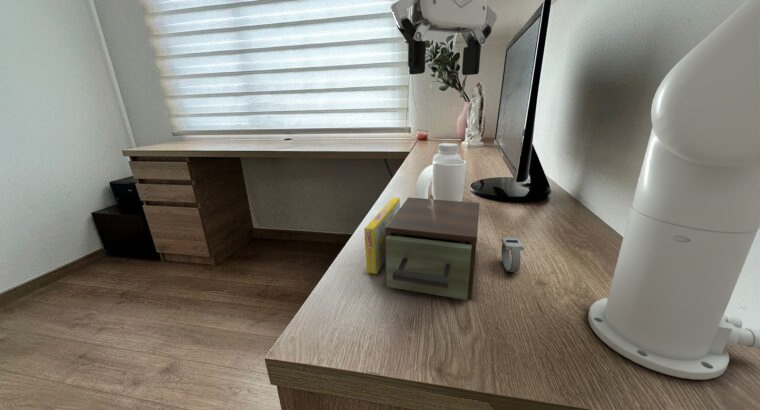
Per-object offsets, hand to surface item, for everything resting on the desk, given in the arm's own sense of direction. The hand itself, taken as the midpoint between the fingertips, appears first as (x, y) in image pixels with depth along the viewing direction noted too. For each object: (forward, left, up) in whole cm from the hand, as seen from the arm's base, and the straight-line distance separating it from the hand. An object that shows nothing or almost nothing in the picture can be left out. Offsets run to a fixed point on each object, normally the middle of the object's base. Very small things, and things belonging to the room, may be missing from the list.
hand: (444, 74), depth 47 cm
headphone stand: (+5, -22, -31) cm, 39 cm away
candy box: (+9, 0, -31) cm, 32 cm away
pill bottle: (+3, -37, -31) cm, 49 cm away
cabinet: (0, +4, -31) cm, 31 cm away
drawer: (0, +8, -30) cm, 31 cm away
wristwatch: (-12, +1, -31) cm, 33 cm away
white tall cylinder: (0, -13, -31) cm, 34 cm away
